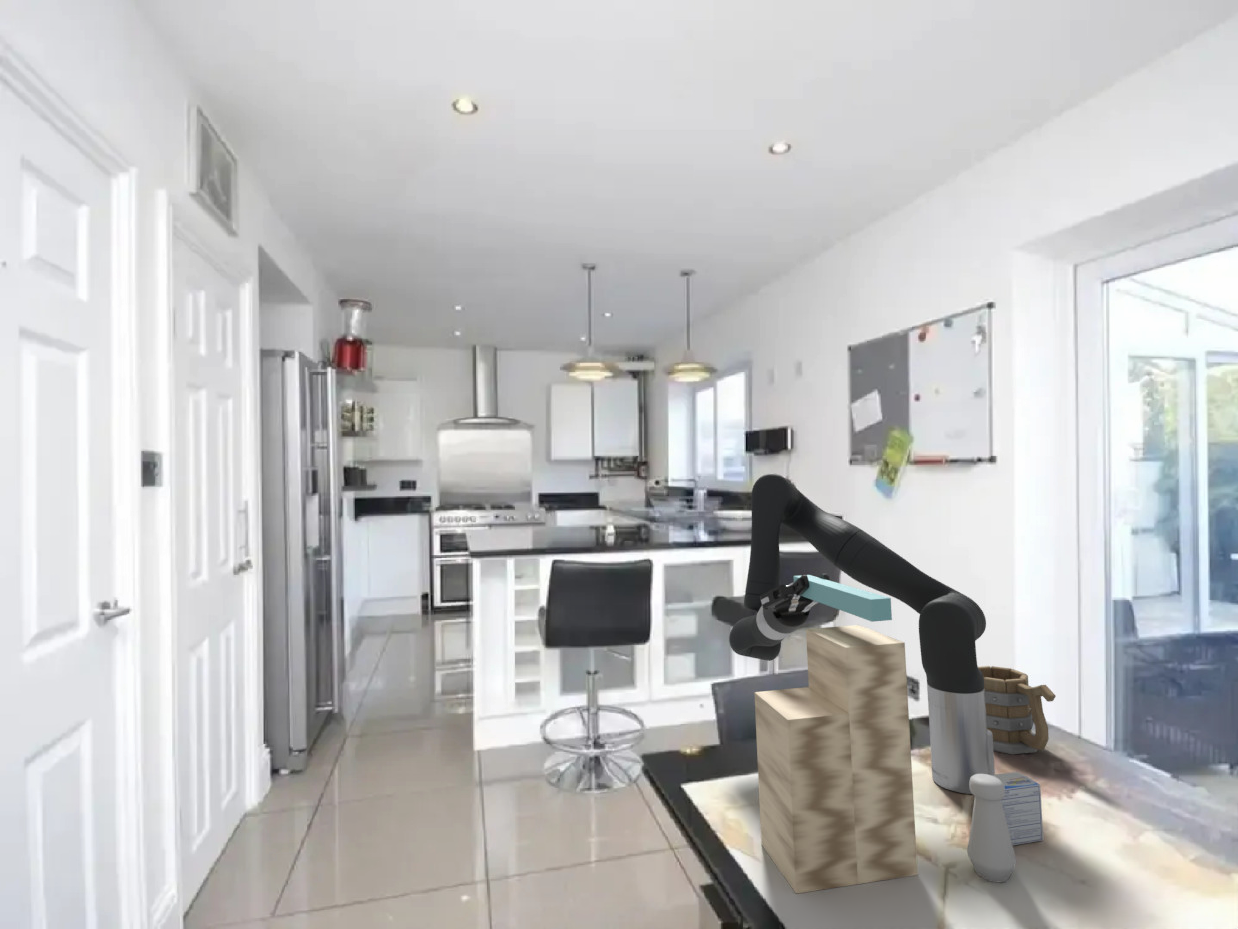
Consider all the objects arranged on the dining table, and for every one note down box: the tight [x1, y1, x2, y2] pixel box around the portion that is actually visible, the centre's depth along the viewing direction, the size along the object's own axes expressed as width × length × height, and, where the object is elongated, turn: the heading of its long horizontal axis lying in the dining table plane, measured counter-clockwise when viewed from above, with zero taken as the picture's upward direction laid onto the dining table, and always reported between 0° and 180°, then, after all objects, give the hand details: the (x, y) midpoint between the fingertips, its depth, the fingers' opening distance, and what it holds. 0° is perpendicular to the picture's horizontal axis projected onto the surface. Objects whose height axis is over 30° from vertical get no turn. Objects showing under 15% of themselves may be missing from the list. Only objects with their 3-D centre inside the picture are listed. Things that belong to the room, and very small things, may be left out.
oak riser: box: [753, 624, 919, 894], centre depth 92 cm, size 18×12×32 cm, turn 100°
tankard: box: [978, 665, 1056, 755], centre depth 126 cm, size 20×13×15 cm, turn 6°
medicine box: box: [991, 771, 1044, 846], centre depth 95 cm, size 8×4×9 cm, turn 100°
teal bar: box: [793, 574, 893, 623], centre depth 98 cm, size 3×24×3 cm, turn 10°
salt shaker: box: [966, 774, 1017, 883], centre depth 87 cm, size 6×6×13 cm
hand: (816, 580), depth 104 cm, fingers closed on teal bar, 3 cm apart
